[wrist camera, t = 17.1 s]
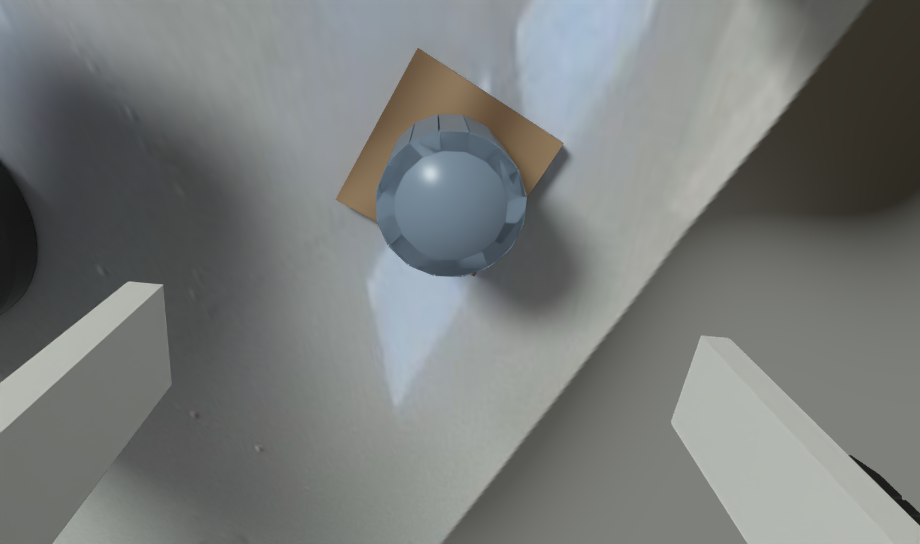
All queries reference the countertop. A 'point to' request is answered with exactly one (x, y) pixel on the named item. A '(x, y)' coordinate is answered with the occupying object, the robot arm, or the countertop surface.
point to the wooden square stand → (438, 93)
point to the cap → (450, 197)
